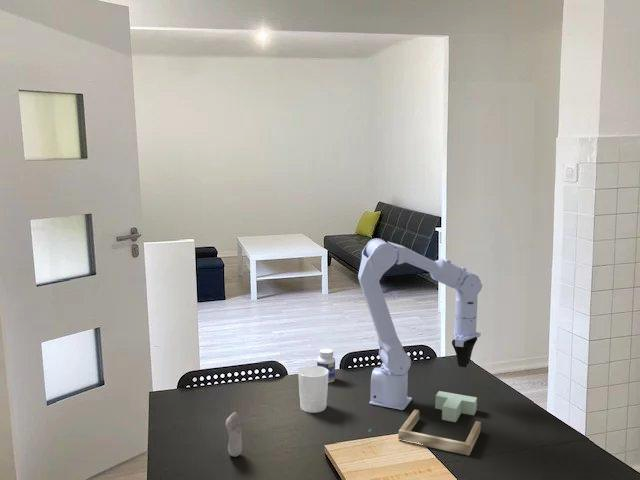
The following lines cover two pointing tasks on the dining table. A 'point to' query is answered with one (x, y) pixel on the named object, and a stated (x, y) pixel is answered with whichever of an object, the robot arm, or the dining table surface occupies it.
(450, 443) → the dock
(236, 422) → the fossil
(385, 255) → the robot arm
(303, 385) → the white cup
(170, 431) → the dining table surface
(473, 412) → the tee
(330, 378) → the pill bottle
